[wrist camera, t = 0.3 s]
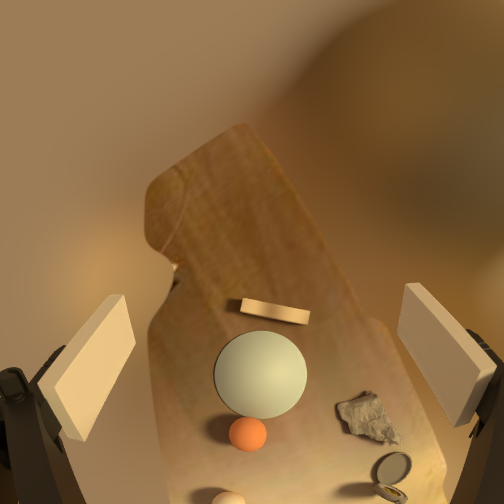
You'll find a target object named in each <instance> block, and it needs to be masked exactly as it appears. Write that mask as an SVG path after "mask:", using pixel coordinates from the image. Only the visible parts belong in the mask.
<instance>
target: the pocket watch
mask: <svg viewBox="0 0 504 504" xmlns="http://www.w3.org/2000/svg"><path fill="white" fill-rule="evenodd" d="M411 467H412V460H411V458H410V456H409V455H407V454H406V453H402V452H396V453H393V454H390V455H389V456H387V457H386V458H384V459H383V460H382V461H381V463H380V464H379V466H378V468H377V472H376V476H377V479H378V481H379V482H380V483H376V484H375V485H374V487H373V490H374V491H375V493H377V494H378V495H379V496H381V497H382V498H384V499H386V500H388V501H391V502H394V503H395V504H404V503H405V502H406V501H407V500H408V498H407V496H406V495H405V494H404V493H403V492H402V491H400V490H399V489H397V488H395V487H393V486H390V485H395V484H397V483H399V482H401V481H402V480H403V479H405V478H406V477H407V475H408V474H409V472H410V470H411Z"/></svg>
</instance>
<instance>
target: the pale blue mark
mask: <svg viewBox="0 0 504 504" xmlns="http://www.w3.org/2000/svg"><path fill="white" fill-rule="evenodd" d="M306 379H307V370H306V364H305V361H304V358H303V356H302V354H301V352H300V351H299V349H298V348H297V347H296V346H295V345H294V344H293V343H292V342H291V341H290V340H288V339H287V338H285V337H284V336H282V335H280V334H277V333H274V332H269V331H253V332H248V333H245V334H243V335H240V336H238V337H237V338H235V339H233V340H232V341H231V342H230V343H229V344H228V345H227V346H226V347H225V348H224V349H223V351H222V352H221V354H220V355H219V357H218V360H217V363H216V367H215V383H216V387H217V390H218V393H219V395H220V397H221V398H222V400H223V401H224V402H225V403H226V405H227V406H229V407H230V408H231V409H232V410H233V411H235V412H236V413H238V414H240V415H243V416H245V417H253V418H256V419H267V418H272V417H276V416H278V415H281V414H283V413H284V412H286V411H288V410H289V409H290V408H292V407H293V406H294V405H295V404H296V402H297V401H298V400H299V399H300V397H301V395H302V393H303V391H304V388H305V385H306Z"/></svg>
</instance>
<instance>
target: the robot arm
mask: <svg viewBox="0 0 504 504" xmlns="http://www.w3.org/2000/svg"><path fill="white" fill-rule="evenodd" d="M397 335H398V336H399V338H400V339H401V341H402V342H403V344H404V345H405V347H406V349H407V350H408V352H409V354H410V355H411V356H412V358H413V360H414V361H415V363H416V365H417V366H418V368H419V370H420V371H421V373H422V374H423V376H424V378H425V380H426V381H427V383H428V385H429V386H430V388H431V390H432V391H433V393H434V395H435V396H436V398H437V400H438V402H439V403H440V405H441V407H442V409H443V410H444V412H445V414H446V416H447V418H448V419H449V421H450V423H451V425H452V427H453V428H455V427H458V426H461V425H464V424H467V423H469V422H470V420H471V418H472V417H473V415H474V413H475V411H476V413H477V415H478V416H479V420H478V421H477V423H476V425H475V427H474V428H473V430H472V432H471V433H470V435H469V438H471V437H472V435H473V437H472V441H471V445H470V448H469V451H468V455H467V458H466V461H465V464H464V467H463V471H462V473H461V476H460V479H459V481H458V484H457V487H456V489H455V492H454V495H453V497H452V499H451V502H450V504H504V363H503V362H502V360H501V359H500V358H499V357H498V356H497V355H496V354H495V353H494V352H493V350H492V349H490V347H489V346H488V345H487V344H486V343H484V341H483V340H482V338H481V337H480V336H479V335H478V334H476V333H474V332H473V331H471V330H469V329H466V330H465V329H464V328H463V327H462V326H461V325H460V324H459V323H458V322H457V321H456V320H455V319H454V318H453V317H452V316H451V314H450V313H449V312H448V311H447V310H446V309H445V308H444V307H443V306H442V305H441V304H440V303H439V302H438V301H437V300H436V299H435V298H434V297H433V296H432V295H431V294H430V293H429V292H428V291H427V290H426V289H425V288H424V287H423V286H422V285H421V284H420V283H410V284H405V289H404V296H403V302H402V308H401V314H400V319H399V324H398V329H397ZM135 343H136V342H135V339H134V335H133V331H132V327H131V324H130V319H129V315H128V311H127V307H126V303H125V298H124V295H109V296H108V297H107V298H106V299H105V301H104V302H103V303H102V304H101V305H100V306H99V308H98V309H97V310H96V311H95V312H94V313H93V315H92V316H91V317H90V318H89V319H88V320H87V322H86V323H85V324H84V325H83V326H82V328H81V329H80V330H79V331H78V332H77V334H76V335H75V336H74V337H73V338H72V340H71V341H70V342H69V343H68V345H67V346H66V345H63V346H62V347H60V348H59V349H58V350H56V351H55V352H54V353H53V354H52V355H51V356H50V357H49V359H48V361H46V362H45V364H44V366H43V367H41V369H40V370H39V371H38V372H37V374H36V375H35V376H34V378H33V379H32V380H31V381H30V383H28V381H27V379H26V377H25V375H24V373H23V371H22V370H21V369H19V368H16V367H12V368H7V369H5V370H2V371H1V372H0V396H1V397H0V504H18V501H19V504H86V502H85V499H84V497H83V495H82V493H81V490H80V488H79V485H78V483H77V481H76V478H75V476H74V473H73V471H72V468H71V465H70V463H69V460H68V457H67V454H66V452H65V448H64V445H63V443H62V440H61V438H60V436H59V435H58V434H59V432H60V430H61V428H63V430H64V432H65V433H66V435H67V436H68V438H71V439H75V440H79V441H84V442H85V440H86V438H87V436H88V434H89V432H90V430H91V428H92V426H93V424H94V422H95V420H96V418H97V416H98V414H99V412H100V410H101V408H102V406H103V404H104V402H105V400H106V398H107V396H108V394H109V392H110V390H111V388H112V387H113V385H114V383H115V381H116V379H117V377H118V375H119V373H120V371H121V369H122V367H123V366H124V364H125V362H126V360H127V358H128V356H129V355H130V353H131V351H132V349H133V347H134V345H135Z"/></svg>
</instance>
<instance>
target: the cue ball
mask: <svg viewBox="0 0 504 504" xmlns="http://www.w3.org/2000/svg"><path fill="white" fill-rule="evenodd" d="M212 504H246V502H245V500H244V499H243V497H242V496H240V495H239V494H237V493H234V492H223V493H220V494H218V495H217V496H216V497H215V498H214V499H213V501H212Z"/></svg>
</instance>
